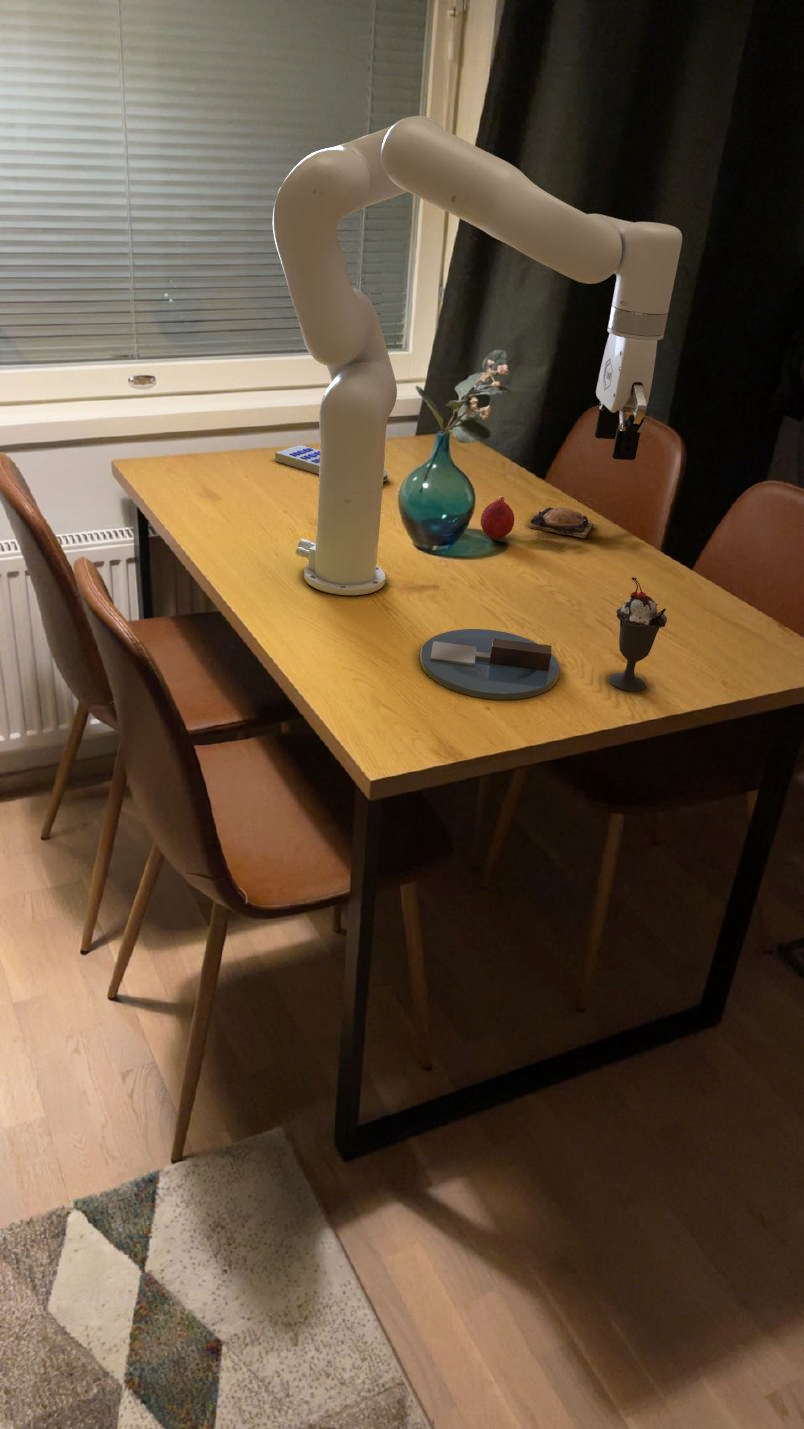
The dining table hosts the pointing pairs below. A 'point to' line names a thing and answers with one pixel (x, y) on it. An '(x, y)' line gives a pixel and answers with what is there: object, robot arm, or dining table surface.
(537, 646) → the spatula
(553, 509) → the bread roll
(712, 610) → the dining table surface
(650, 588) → the dining table surface
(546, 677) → the plate
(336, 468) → the robot arm
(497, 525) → the onion
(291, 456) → the remote control
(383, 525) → the dining table surface
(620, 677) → the sundae
